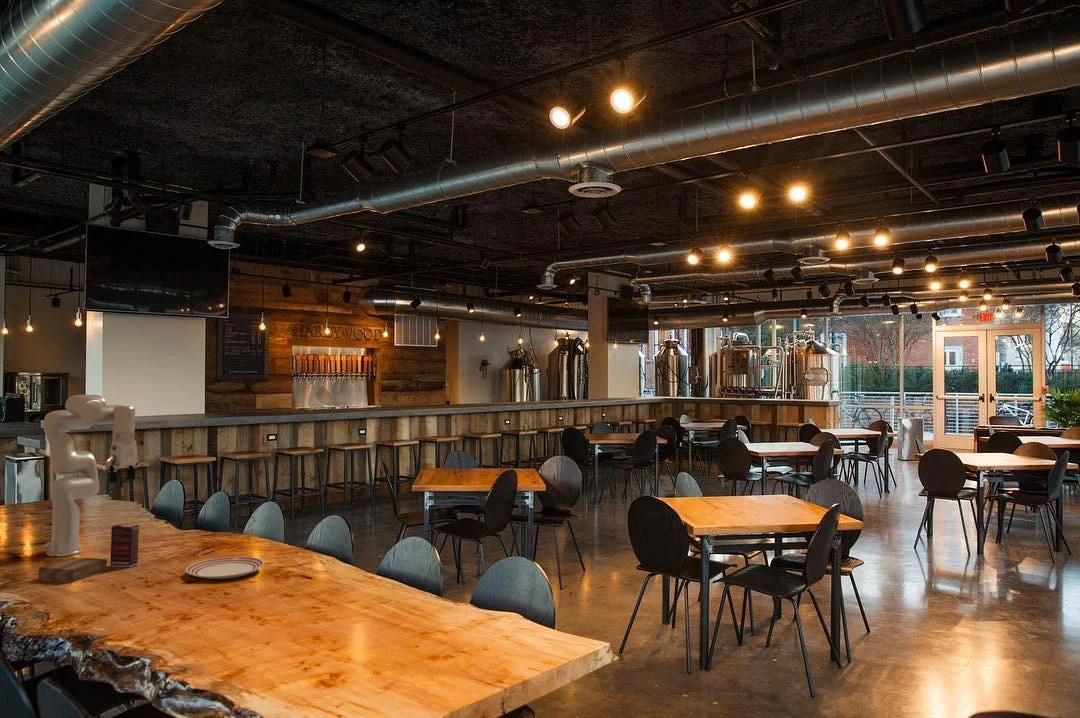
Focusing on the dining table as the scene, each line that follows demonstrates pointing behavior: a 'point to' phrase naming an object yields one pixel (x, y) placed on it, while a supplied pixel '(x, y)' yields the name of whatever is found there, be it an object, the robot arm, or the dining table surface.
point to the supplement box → (124, 545)
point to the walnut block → (72, 569)
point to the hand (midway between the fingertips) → (122, 480)
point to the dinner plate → (225, 567)
